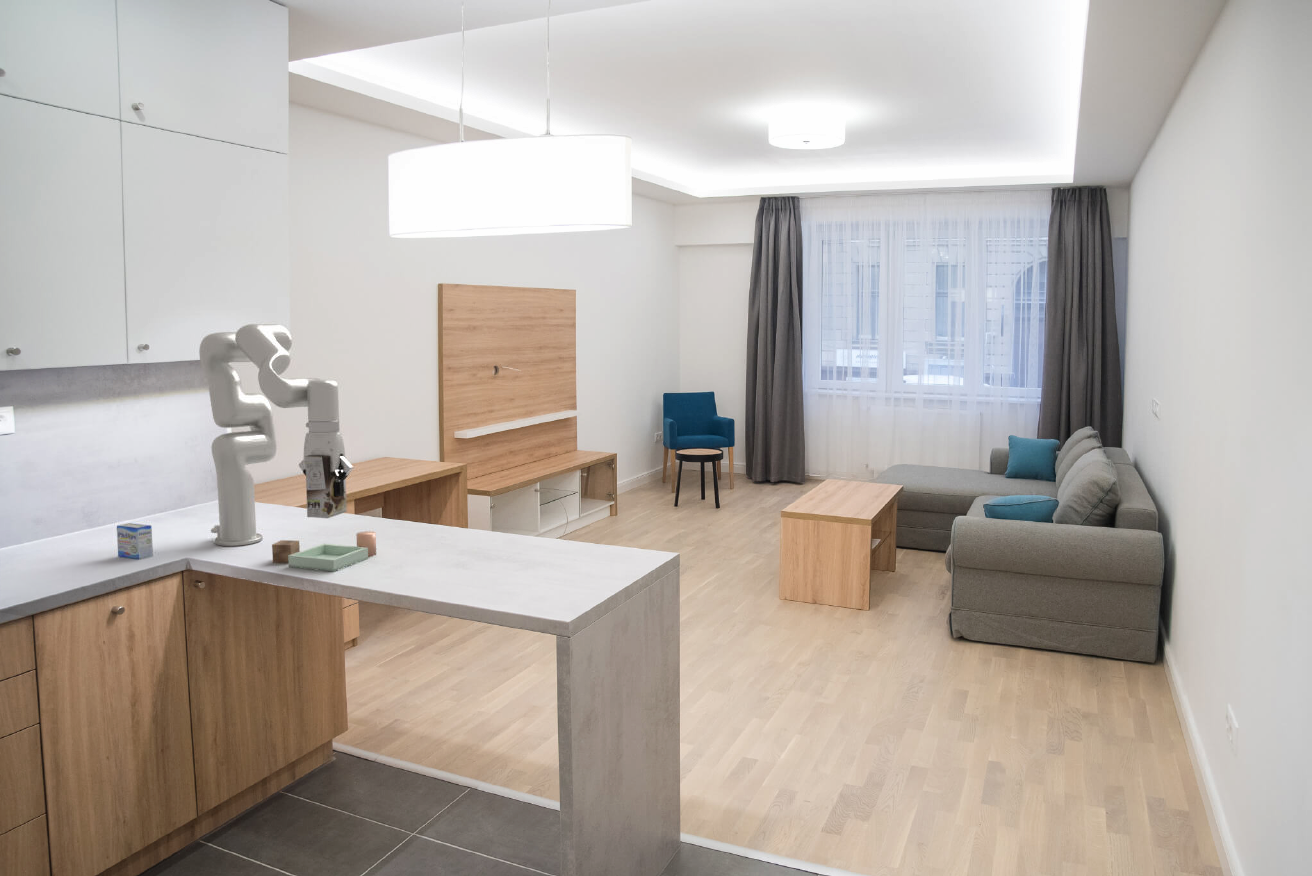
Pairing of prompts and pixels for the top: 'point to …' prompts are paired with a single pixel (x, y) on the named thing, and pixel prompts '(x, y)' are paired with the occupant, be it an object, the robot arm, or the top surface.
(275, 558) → the walnut block
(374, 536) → the light brown rounded block
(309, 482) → the coffee box
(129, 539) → the medicine box
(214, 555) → the top surface
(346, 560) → the tray
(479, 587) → the top surface
